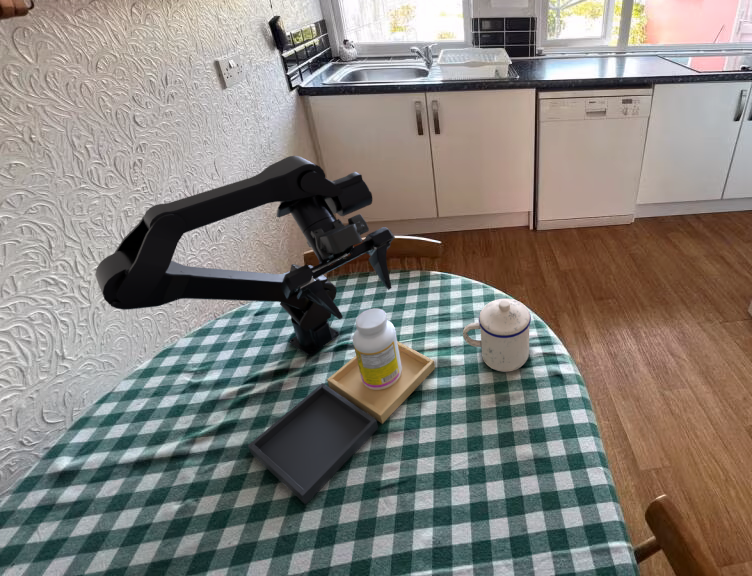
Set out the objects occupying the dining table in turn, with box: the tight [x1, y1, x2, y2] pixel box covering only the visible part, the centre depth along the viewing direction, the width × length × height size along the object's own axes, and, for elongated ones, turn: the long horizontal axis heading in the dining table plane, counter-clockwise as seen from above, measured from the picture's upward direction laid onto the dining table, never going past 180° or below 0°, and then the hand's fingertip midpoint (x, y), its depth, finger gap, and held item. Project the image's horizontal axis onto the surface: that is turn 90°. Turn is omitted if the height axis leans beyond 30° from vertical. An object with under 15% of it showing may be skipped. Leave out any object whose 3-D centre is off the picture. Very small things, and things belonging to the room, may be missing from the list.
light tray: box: [326, 340, 436, 425], centre depth 71 cm, size 13×12×2 cm
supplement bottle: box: [352, 307, 402, 390], centre depth 68 cm, size 7×7×13 cm
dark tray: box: [247, 383, 379, 505], centre depth 61 cm, size 13×12×2 cm
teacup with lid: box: [462, 298, 532, 373], centre depth 73 cm, size 12×9×12 cm
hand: (366, 303), depth 70 cm, fingers open, 9 cm apart
